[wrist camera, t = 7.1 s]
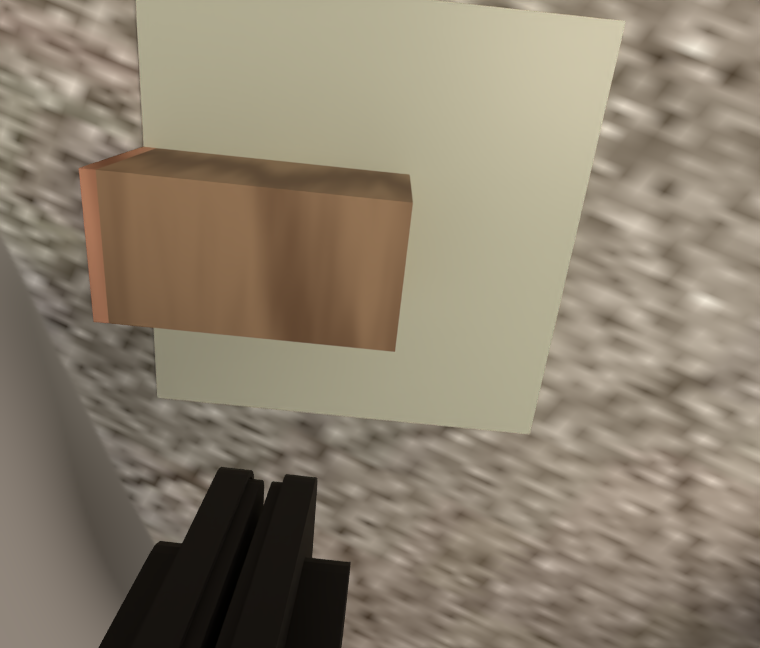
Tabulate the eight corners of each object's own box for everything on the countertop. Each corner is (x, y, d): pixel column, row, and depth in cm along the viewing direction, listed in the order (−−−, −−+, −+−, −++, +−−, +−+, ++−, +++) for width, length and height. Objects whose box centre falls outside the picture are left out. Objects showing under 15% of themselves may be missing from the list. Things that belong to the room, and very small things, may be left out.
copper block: (412, 202, 22) (78, 167, 22) (395, 351, 24) (93, 321, 24) (409, 174, 27) (143, 146, 27) (395, 298, 30) (150, 273, 30)
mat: (621, 22, 25) (625, 21, 25) (527, 429, 33) (529, 434, 33) (138, -31, 25) (133, -33, 24) (160, 393, 33) (157, 397, 32)
